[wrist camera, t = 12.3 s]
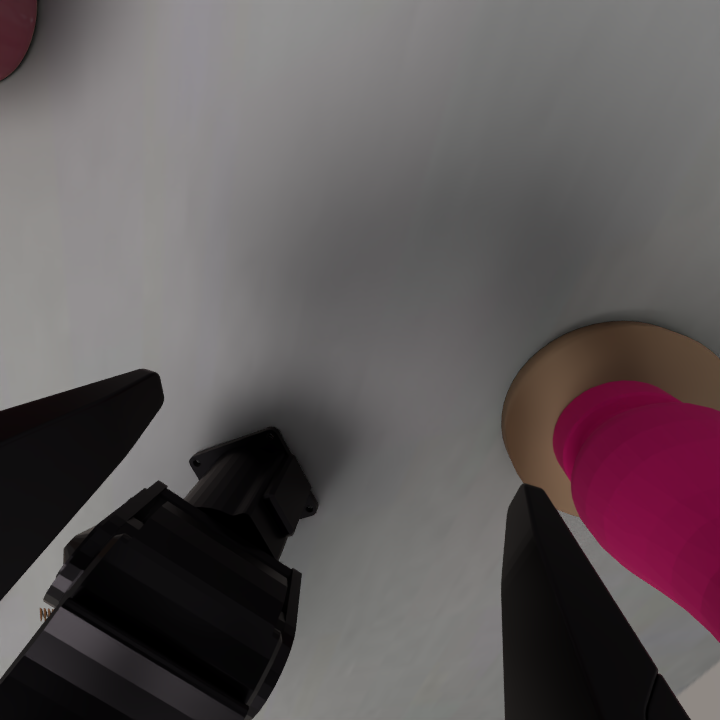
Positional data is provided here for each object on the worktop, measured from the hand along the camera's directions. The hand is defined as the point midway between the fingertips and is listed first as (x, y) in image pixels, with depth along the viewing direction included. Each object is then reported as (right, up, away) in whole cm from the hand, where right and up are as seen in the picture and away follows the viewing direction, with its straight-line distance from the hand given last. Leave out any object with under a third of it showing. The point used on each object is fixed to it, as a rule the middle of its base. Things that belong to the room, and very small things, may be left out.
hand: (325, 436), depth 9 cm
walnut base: (+14, -1, +12) cm, 19 cm away
